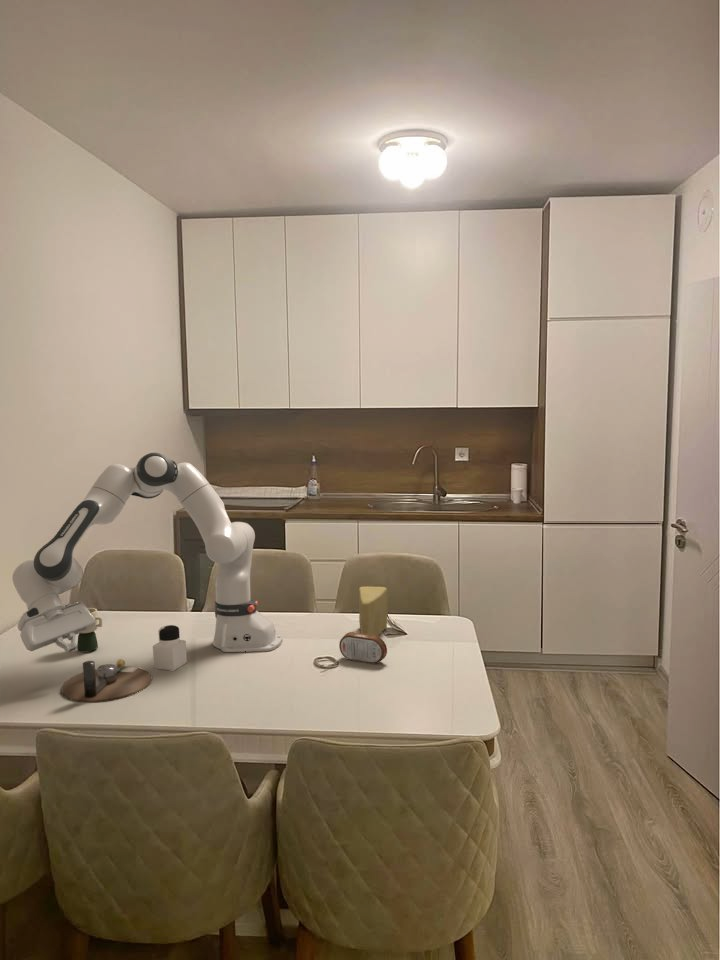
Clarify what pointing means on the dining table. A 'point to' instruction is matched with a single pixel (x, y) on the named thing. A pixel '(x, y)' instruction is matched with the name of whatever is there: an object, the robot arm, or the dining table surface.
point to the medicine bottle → (169, 649)
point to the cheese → (372, 610)
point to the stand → (109, 685)
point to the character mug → (89, 635)
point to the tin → (363, 647)
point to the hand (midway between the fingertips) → (72, 650)
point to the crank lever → (99, 676)
